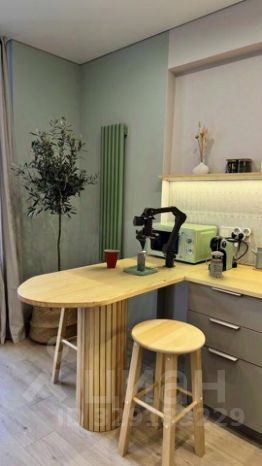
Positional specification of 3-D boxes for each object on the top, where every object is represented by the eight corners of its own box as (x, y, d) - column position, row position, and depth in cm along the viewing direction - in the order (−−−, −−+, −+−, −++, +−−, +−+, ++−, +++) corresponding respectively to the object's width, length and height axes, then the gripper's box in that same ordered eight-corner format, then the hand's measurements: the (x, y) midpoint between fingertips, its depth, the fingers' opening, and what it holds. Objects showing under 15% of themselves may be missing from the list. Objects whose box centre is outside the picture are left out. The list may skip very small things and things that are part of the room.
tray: (139, 267, 219) (139, 264, 219) (158, 272, 208) (158, 268, 208) (123, 271, 207) (123, 268, 207) (142, 276, 197) (142, 272, 196)
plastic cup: (120, 266, 222) (120, 249, 221) (118, 269, 211) (118, 251, 210) (104, 265, 223) (105, 248, 222) (101, 268, 212) (102, 250, 211)
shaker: (143, 269, 211) (144, 250, 209) (146, 271, 206) (146, 251, 204) (135, 269, 210) (136, 250, 208) (137, 271, 204) (138, 251, 203)
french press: (225, 276, 202) (228, 237, 199) (207, 276, 202) (209, 237, 199) (220, 273, 212) (223, 235, 209) (203, 272, 212) (205, 235, 209)
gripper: (147, 224, 229) (146, 246, 231) (130, 225, 215) (129, 248, 217) (160, 225, 221) (159, 248, 223) (142, 227, 208) (141, 251, 209)
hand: (147, 248), depth 218 cm, fingers open, 9 cm apart
